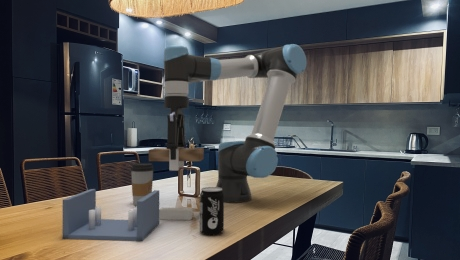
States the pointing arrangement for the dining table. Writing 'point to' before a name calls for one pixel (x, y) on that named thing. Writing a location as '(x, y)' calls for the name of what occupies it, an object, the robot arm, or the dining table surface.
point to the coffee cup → (141, 180)
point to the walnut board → (184, 154)
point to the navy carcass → (93, 227)
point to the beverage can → (211, 211)
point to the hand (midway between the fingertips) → (176, 168)
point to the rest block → (175, 213)
